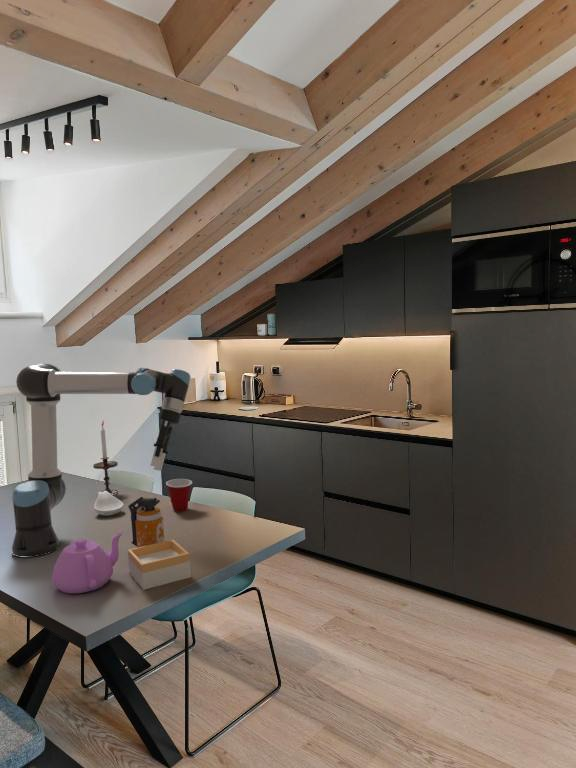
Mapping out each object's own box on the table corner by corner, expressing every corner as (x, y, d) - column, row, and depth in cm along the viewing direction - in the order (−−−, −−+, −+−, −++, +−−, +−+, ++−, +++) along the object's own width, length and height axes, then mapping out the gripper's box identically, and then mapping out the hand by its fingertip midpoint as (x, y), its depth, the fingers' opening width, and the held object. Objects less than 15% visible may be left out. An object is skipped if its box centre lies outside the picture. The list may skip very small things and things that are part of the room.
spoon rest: (127, 515, 248) (126, 498, 248) (98, 520, 243) (96, 503, 242) (113, 501, 269) (112, 486, 268) (86, 506, 263) (85, 490, 263)
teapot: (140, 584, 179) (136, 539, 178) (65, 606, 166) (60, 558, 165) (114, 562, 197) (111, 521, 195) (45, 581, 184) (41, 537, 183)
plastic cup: (181, 515, 244) (179, 486, 243) (162, 511, 249) (160, 483, 248) (199, 507, 253) (197, 479, 252) (179, 504, 259) (178, 477, 257)
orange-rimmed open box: (143, 589, 175) (141, 564, 174) (129, 573, 187) (127, 549, 186) (190, 577, 182) (189, 553, 181) (174, 562, 194) (172, 539, 194)
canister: (158, 562, 195) (154, 501, 193) (127, 561, 197) (122, 501, 195) (169, 551, 204) (165, 494, 202) (139, 550, 206) (135, 493, 204)
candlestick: (113, 489, 289) (107, 417, 286) (124, 493, 281) (118, 419, 278) (91, 494, 282) (85, 420, 278) (102, 498, 274) (96, 422, 270)
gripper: (179, 406, 208) (164, 466, 203) (182, 419, 232) (168, 473, 227) (158, 401, 208) (141, 462, 202) (163, 415, 232) (148, 469, 226)
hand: (155, 468), depth 215 cm, fingers open, 13 cm apart
